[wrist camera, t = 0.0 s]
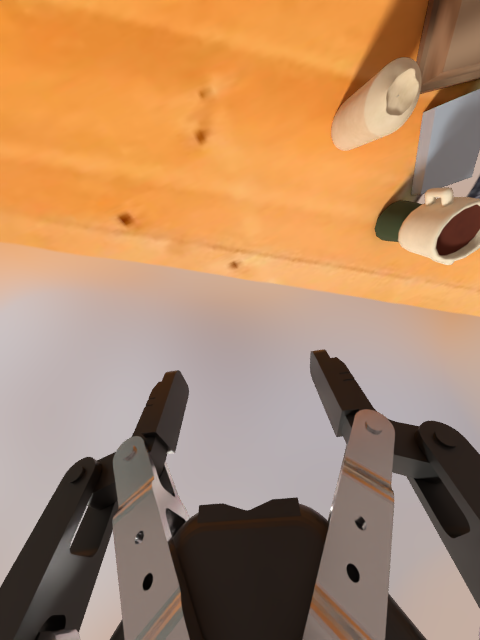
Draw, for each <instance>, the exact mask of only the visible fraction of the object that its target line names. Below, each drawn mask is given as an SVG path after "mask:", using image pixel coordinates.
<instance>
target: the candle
mask: <svg viewBox="0 0 480 640" xmlns="http://www.w3.org/2000/svg"><path fill="white" fill-rule="evenodd" d="M421 83H422V77H421V71H420V68H419V66H418V64H417V63H416V62H415V61H414V60H413V59H411V58H407V57H402V58H398V59H395V60H394V61H392V62H390V63H389V64H387V65H386V66H385V67H384V68H383V69H382V70H380V71H379V72H378V73H377V74H376V75H375V76H374V77H372V78H371V79H370V80H369V81H368V82H367V83H365V84H364V85H363V86H362V87H361V88H360V89H359V90H357V91H356V92H355V93H354V94H353V95H352V96H350V97H349V98H348V99H347V100H346V101H345V102H344V103H343V104H342V105H341V106H340V108H339V109H338V111H337V113H336V114H335V117H334V119H333V122H332V127H331V137H332V141H333V143H334V145H335V146H336V147H337V148H338V149H340V150H344V151H347V150H351V149H354V148H357V147H359V146H362V145H364V144H367V143H369V142H372V141H374V140H377V139H379V138H382V137H384V136H387V135H389V134H391V133H393V132H395V131H396V130H398V129H399V128H400V127H401V126H402V125H403V124H404V123H405V122H406V121H407V119H408V118H409V117H410V115H411V114H412V112H413V110H414V108H415V106H416V104H417V101H418V98H419V95H420V91H421Z"/></svg>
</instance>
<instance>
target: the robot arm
mask: <svg viewBox="0 0 480 640" xmlns="http://www.w3.org/2000/svg"><path fill="white" fill-rule="evenodd" d="M310 372H311V376H312V380H313V382H314V384H315V387H316V389H317V391H318V394H319V396H320V399H321V401H322V404H323V406H324V408H325V411H326V413H327V415H328V418H329V420H330V423H331V425H332V428H333V430H334V432H335V435H336V437H340V436H343V437H344V439H345V441H346V444H347V445H346V449H345V454H344V458H343V462H342V466H341V470H340V474H339V478H338V482H337V487H336V490H335V494H334V498H333V502H332V506H331V510H330V514H329V518H328V521H327V520H326V519H325V518H324V517H323V516H322V515H320V514H319V513H318V512H316V511H315V510H313V509H311V508H309V507H307V506H305V505H302V504H299V503H298V498H287V499H273V500H270V501H268V502H266V503H264V504H262V505H260V506H258V507H255V508H253V509H251V510H248V511H246V510H242V509H239V508H235V507H232V506H229V505H226V504H210V505H200V506H199V513H197V514H195V515H194V516H192V517H191V518H189V515H188V513H187V510H186V508H185V507H184V505H183V503H182V502H181V500H180V498H179V496H178V493H177V491H176V488H175V485H174V482H173V480H172V477H171V474H170V471H169V469H168V466H167V463H166V462H165V460H166V456H167V454H171V453H175V450H176V446H177V441H178V437H179V433H180V429H181V425H182V421H183V416H184V412H185V408H186V404H187V399H188V395H189V388H188V385H187V383H186V381H185V379H184V377H183V376H182V374H181V372H180V371H171V372H166V373H165V375H164V377H163V380H162V382H158V383H157V385H156V386H155V387H154V388H153V390H152V392H151V394H150V396H149V400H148V401H147V403H146V407H145V408H144V410H143V412H142V415H141V417H140V420H139V422H138V424H137V427H136V429H135V431H134V433H133V435H132V437H131V438H129V439H127V440H126V441H125V442H123V444H121V446H120V447H119V448H118V449H117V451H116V452H115V453H113V454H110V455H108V456H106V457H104V458H102V459H100V460H97V461H96V460H95V459H93V458H91V457H86V458H83V459H81V460H79V461H78V462H76V463H75V464H74V465H73V466H72V467H71V468H70V469H69V470H68V471H67V473H66V474H65V476H64V477H63V479H62V481H61V482H60V484H59V486H58V488H57V489H56V491H55V493H54V494H53V496H52V498H51V500H50V501H49V503H48V505H47V507H46V508H45V510H44V512H43V514H42V516H41V517H40V519H39V521H38V522H37V524H36V526H35V528H34V529H33V531H32V533H31V535H30V537H29V538H28V540H27V542H26V543H25V545H24V547H23V549H22V551H21V552H20V554H19V556H18V557H17V559H16V561H15V563H14V564H13V566H12V568H11V570H10V571H9V573H8V575H7V577H6V578H5V580H4V582H3V584H2V586H1V587H0V640H80V636H79V630H80V627H81V624H82V621H83V618H84V615H85V612H86V609H87V606H88V602H89V600H90V597H91V594H92V590H93V588H94V585H95V582H96V579H97V576H98V573H99V570H100V567H101V563H102V561H103V557H104V554H105V552H106V549H107V546H108V542H109V540H110V537H111V533H112V530H113V534H114V544H115V553H116V563H117V572H118V581H119V591H120V599H121V609H122V621H121V622H120V624H119V625H118V627H117V629H116V630H115V632H114V634H113V635H112V637H111V639H110V640H426V638H425V637H424V636H423V635H422V634H421V632H420V631H419V630H418V629H417V627H416V626H415V625H414V624H413V623H412V621H411V620H410V619H409V618H408V617H407V615H406V614H405V613H404V612H403V611H402V609H401V608H400V607H399V606H398V604H397V603H396V602H395V601H394V600H393V598H392V597H391V596H390V595H389V593H388V588H389V573H390V571H389V570H390V557H391V542H392V528H393V513H394V493H393V490H392V488H391V478H392V472H393V473H397V474H401V475H404V476H407V478H408V480H409V481H410V484H411V485H412V487H413V489H414V491H415V493H416V494H417V496H418V498H419V500H420V502H421V503H422V505H423V507H424V509H425V511H426V512H427V514H428V516H429V518H430V520H431V521H432V523H433V525H434V527H435V529H436V530H437V532H438V534H439V536H440V538H441V539H442V541H443V543H444V545H445V547H446V549H447V550H448V552H449V554H450V556H451V558H452V559H453V561H454V563H455V565H456V566H457V568H458V570H459V572H460V574H461V575H462V577H463V579H464V581H465V583H466V585H467V586H468V588H469V590H470V592H471V593H472V595H473V597H474V599H475V601H476V603H477V604H478V606H479V608H480V454H479V453H478V452H477V451H476V450H475V449H474V448H473V447H472V445H471V444H470V443H469V442H468V441H467V440H466V439H465V437H463V436H462V435H461V434H460V433H459V432H458V431H456V430H455V429H453V428H452V427H450V426H448V425H446V424H443V423H440V422H436V421H426V422H424V423H422V424H421V425H420V426H414V425H409V424H404V423H399V422H395V421H392V420H389V419H387V418H386V417H385V416H383V415H382V414H380V413H379V412H377V411H376V410H375V409H374V408H373V407H372V405H371V403H370V402H369V400H368V399H367V397H366V396H365V394H364V393H363V391H362V390H361V388H360V386H359V385H358V383H357V382H356V381H355V380H354V377H353V376H352V374H351V373H350V371H349V370H348V368H347V367H346V365H345V364H344V363H343V362H342V361H341V360H339V359H338V358H337V357H335V358H330V357H329V355H328V353H327V352H326V350H317V351H311V356H310ZM86 506H88V508H87V511H86V513H85V515H84V518H83V520H82V522H81V524H80V527H79V529H78V531H77V533H76V536H75V538H74V540H73V543H72V545H71V547H70V544H71V541H72V538H73V536H74V533H75V531H76V529H77V527H78V524H79V522H80V520H81V518H82V515H83V513H84V511H85V509H86ZM479 640H480V629H479Z"/></svg>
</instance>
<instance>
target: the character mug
mask: <svg viewBox="0 0 480 640" xmlns="http://www.w3.org/2000/svg"><path fill="white" fill-rule="evenodd" d="M436 197H440V198H437V199H436ZM375 232H376V236H377V237H379V238H380V239H381V240H386V241H395V242H399V243H400V245H401V247H403V248H404V249H406V250H408V251H410V252H413V253H416V254H419V255H422V256H425V257H428V258H431V259H432V260H433V261H436V262H439V263H442V264H445V265H451V264H453V262H454V261H456V260H459V259H462V258H465V257H467V256H468V255H470V254H471V253H473V252H474V251H476V250H478V249H479V248H480V199H474V198H468V197H453V190H452V188H449V187H448V188H432V189H429V190H427V191H426V193H425V204H419V203H415V202H409V201H397V202H395V203H393V204H391V205H390V206H389V207H388V208H386V209H385V210H384V211H383V212H382V214H381V215H380V217H379V218H378V220H377V223H376V226H375Z"/></svg>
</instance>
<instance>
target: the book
mask: <svg viewBox="0 0 480 640" xmlns="http://www.w3.org/2000/svg"><path fill="white" fill-rule="evenodd" d="M479 150H480V89H478V90H476V91H473V92H471V93H468V94H466V95H464V96H461V97H459V98H456V99H454V100H452V101H449V102H447V103H444V104H442V105H439V106H437V107H435V108H432V109H430V110H428V111H426V112H423V117H422V124H421V130H420V137H419V144H418V151H417V158H416V165H415V171H414V178H413V185H412V192H411V195H421V194H424V193H426V191H427V190H429V189H432V188H442V187H444V186H447V185H450V184H453V183H456V182H459V181H462V180H464V179H467V178H470V177H472V174H473V171H474V167H475V164H476V160H477V157H478V153H479Z"/></svg>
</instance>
